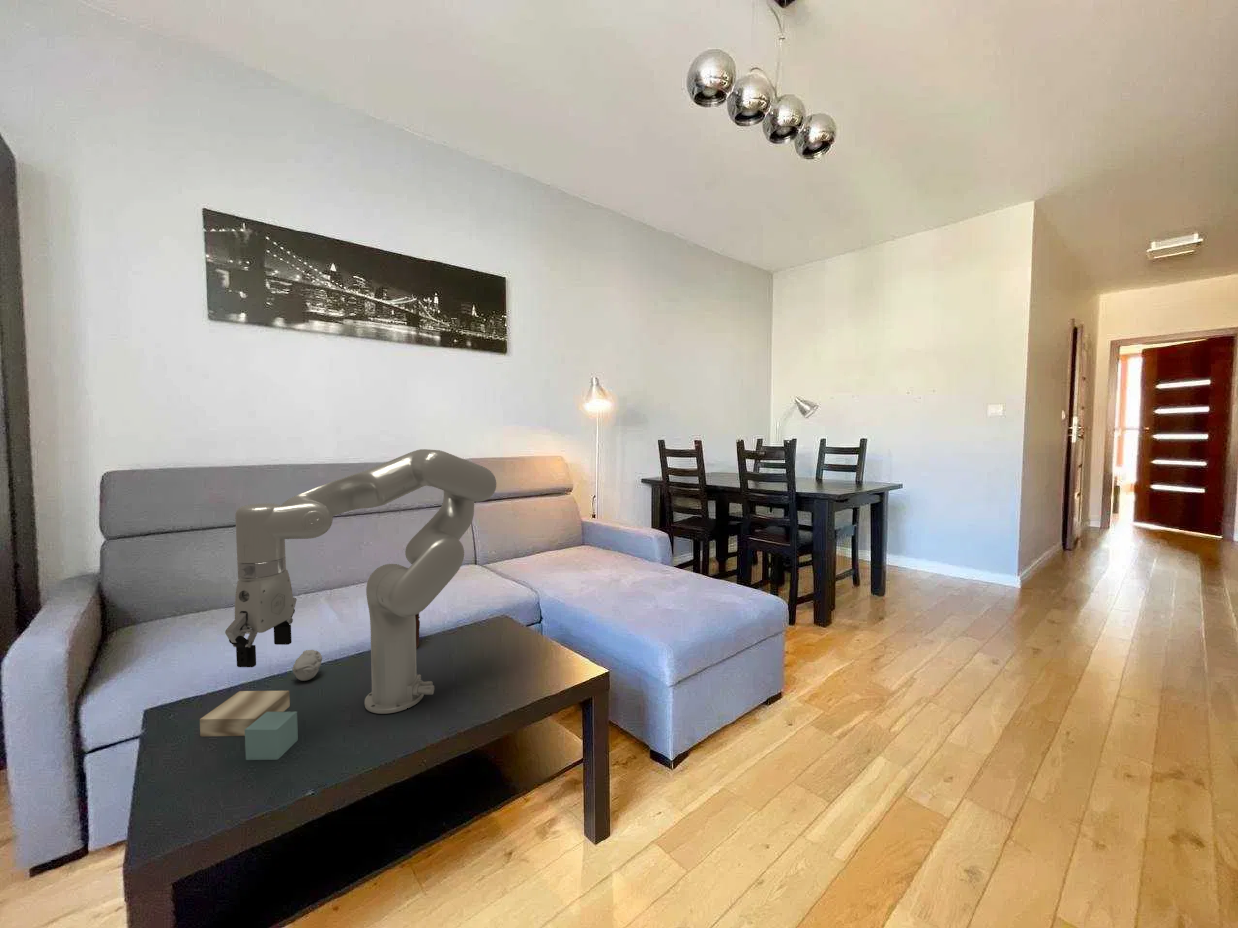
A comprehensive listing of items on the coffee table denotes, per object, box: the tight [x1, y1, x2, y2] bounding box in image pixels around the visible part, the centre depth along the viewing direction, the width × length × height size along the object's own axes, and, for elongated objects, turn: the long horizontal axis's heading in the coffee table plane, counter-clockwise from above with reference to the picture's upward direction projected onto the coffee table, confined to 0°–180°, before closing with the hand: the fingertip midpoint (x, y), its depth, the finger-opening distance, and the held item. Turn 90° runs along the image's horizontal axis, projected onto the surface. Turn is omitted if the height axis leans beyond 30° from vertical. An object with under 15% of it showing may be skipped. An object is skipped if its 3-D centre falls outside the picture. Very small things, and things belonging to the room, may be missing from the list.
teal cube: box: [244, 711, 299, 761], centre depth 96 cm, size 6×6×6 cm
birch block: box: [199, 690, 291, 737], centre depth 106 cm, size 11×11×4 cm
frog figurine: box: [291, 649, 323, 682], centre depth 124 cm, size 6×7×7 cm
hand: (265, 654), depth 96 cm, fingers open, 9 cm apart
